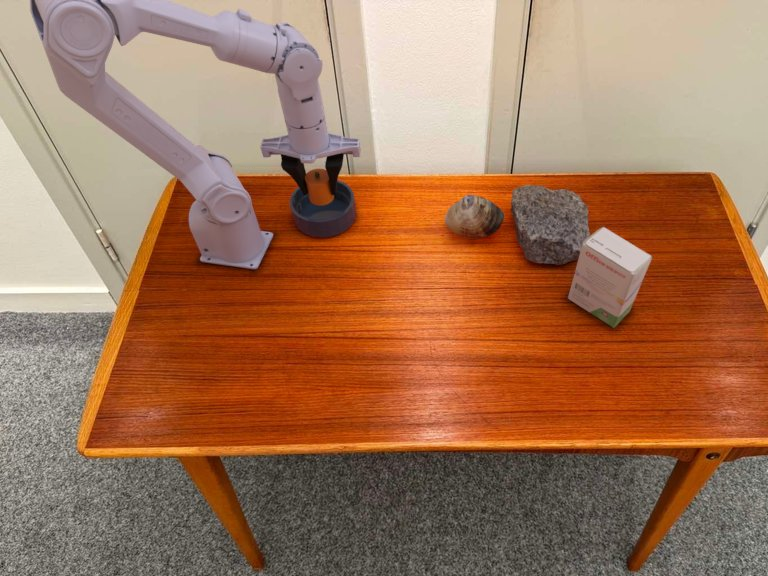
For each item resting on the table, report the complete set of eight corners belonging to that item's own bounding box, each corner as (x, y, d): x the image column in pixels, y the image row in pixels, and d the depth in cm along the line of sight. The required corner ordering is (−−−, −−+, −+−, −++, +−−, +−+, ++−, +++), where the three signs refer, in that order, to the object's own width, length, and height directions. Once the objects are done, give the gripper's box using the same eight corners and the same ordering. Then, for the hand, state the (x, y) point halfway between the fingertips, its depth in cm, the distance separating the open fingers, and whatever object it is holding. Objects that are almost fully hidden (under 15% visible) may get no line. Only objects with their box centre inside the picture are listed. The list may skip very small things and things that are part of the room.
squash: (308, 205, 101) (302, 181, 97) (311, 189, 103) (305, 164, 99) (333, 205, 101) (328, 181, 97) (335, 189, 103) (330, 164, 99)
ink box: (566, 298, 95) (579, 243, 86) (586, 280, 98) (601, 224, 88) (613, 329, 92) (633, 275, 82) (633, 309, 94) (654, 254, 85)
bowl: (285, 235, 103) (280, 217, 100) (305, 193, 109) (301, 174, 106) (347, 243, 102) (344, 225, 99) (363, 200, 108) (361, 182, 105)
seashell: (443, 246, 102) (443, 208, 95) (445, 221, 105) (445, 183, 99) (502, 248, 102) (506, 211, 95) (502, 223, 105) (506, 186, 98)
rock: (589, 272, 99) (581, 208, 108) (598, 242, 94) (589, 178, 103) (509, 267, 99) (507, 204, 108) (513, 237, 94) (512, 173, 103)
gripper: (248, 134, 88) (270, 208, 98) (353, 134, 88) (363, 207, 99) (257, 104, 92) (277, 178, 103) (357, 104, 92) (366, 178, 103)
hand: (320, 190), depth 101 cm, fingers closed on squash, 4 cm apart
